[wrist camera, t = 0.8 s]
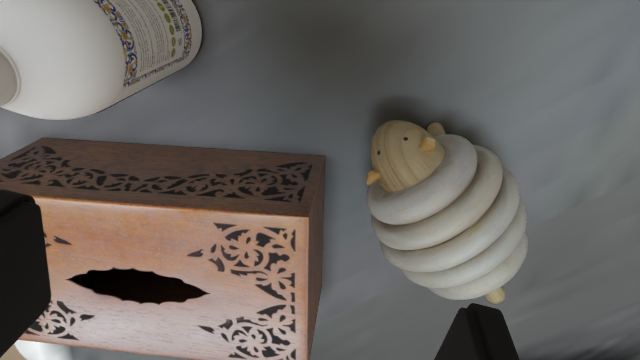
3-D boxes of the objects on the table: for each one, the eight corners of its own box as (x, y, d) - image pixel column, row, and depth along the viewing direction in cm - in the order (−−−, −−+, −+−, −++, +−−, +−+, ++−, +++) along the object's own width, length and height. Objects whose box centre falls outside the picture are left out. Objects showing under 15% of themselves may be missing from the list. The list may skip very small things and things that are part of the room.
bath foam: (156, -47, 30) (-155, -68, 12) (222, 33, 32) (36, 113, 14) (99, 17, 33) (-226, 75, 15) (164, 87, 35) (-55, 212, 17)
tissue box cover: (80, 265, 45) (7, 338, 36) (42, 137, 38) (-58, 188, 29) (321, 287, 42) (307, 372, 33) (325, 155, 36) (308, 217, 27)
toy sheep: (434, 63, 31) (462, 106, 22) (546, 219, 36) (611, 313, 26) (326, 144, 35) (308, 212, 25) (439, 275, 40) (461, 376, 30)
